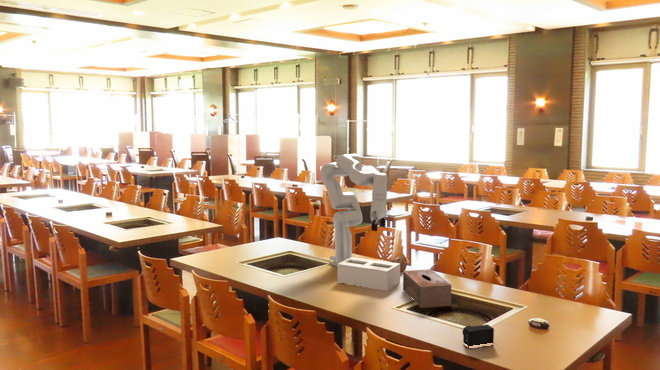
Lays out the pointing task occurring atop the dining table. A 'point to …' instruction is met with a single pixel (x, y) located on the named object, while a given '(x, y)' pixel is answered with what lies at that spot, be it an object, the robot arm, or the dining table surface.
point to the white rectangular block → (369, 273)
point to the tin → (402, 263)
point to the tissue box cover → (427, 288)
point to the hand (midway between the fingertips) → (378, 228)
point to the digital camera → (478, 335)
